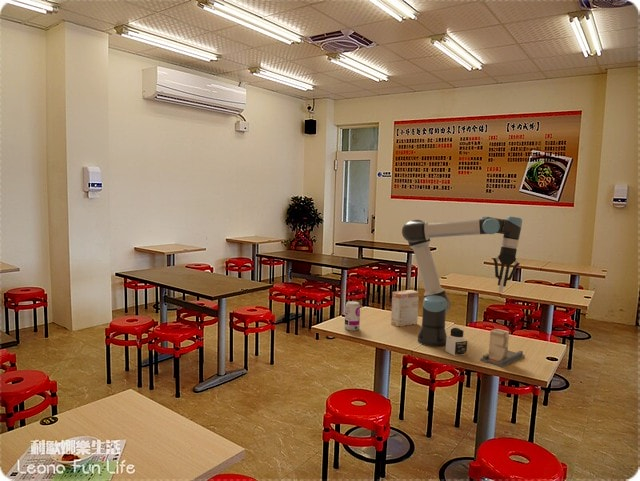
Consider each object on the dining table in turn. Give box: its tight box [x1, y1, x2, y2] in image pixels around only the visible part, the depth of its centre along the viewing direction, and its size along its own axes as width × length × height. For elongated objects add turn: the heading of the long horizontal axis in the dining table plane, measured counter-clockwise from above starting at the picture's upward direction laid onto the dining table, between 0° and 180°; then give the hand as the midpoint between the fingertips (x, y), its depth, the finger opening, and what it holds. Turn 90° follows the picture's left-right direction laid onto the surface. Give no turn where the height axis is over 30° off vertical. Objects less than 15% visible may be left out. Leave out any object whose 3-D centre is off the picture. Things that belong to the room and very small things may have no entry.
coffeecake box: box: [390, 289, 420, 327], centre depth 275 cm, size 15×7×20 cm, turn 120°
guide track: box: [480, 350, 526, 368], centre depth 220 cm, size 22×11×2 cm, turn 133°
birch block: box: [488, 328, 510, 361], centre depth 216 cm, size 6×6×13 cm
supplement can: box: [344, 300, 361, 332], centre depth 261 cm, size 8×8×15 cm
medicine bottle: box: [445, 327, 468, 357], centre depth 226 cm, size 7×7×12 cm
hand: (500, 292), depth 239 cm, fingers closed
